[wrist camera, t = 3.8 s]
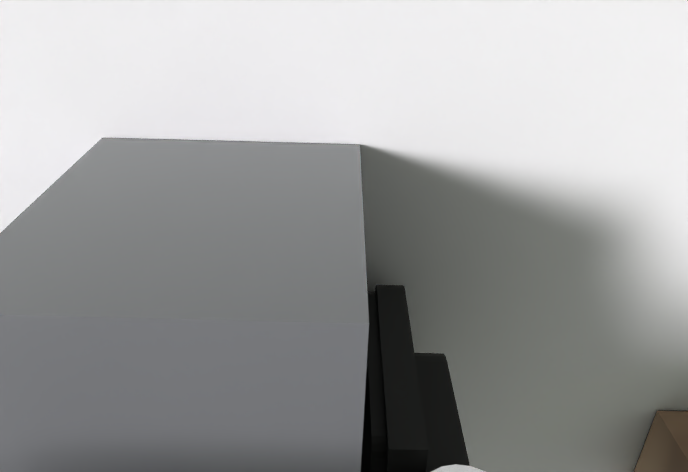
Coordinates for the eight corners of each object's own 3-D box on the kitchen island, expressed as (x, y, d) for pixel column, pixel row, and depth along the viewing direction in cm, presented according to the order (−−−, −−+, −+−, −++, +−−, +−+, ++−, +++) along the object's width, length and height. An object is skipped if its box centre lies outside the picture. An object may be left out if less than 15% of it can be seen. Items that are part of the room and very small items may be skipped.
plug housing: (102, 138, 10) (-85, 312, 6) (359, 144, 10) (369, 324, 6) (160, 461, 14) (75, 713, 10) (346, 465, 14) (346, 718, 10)
